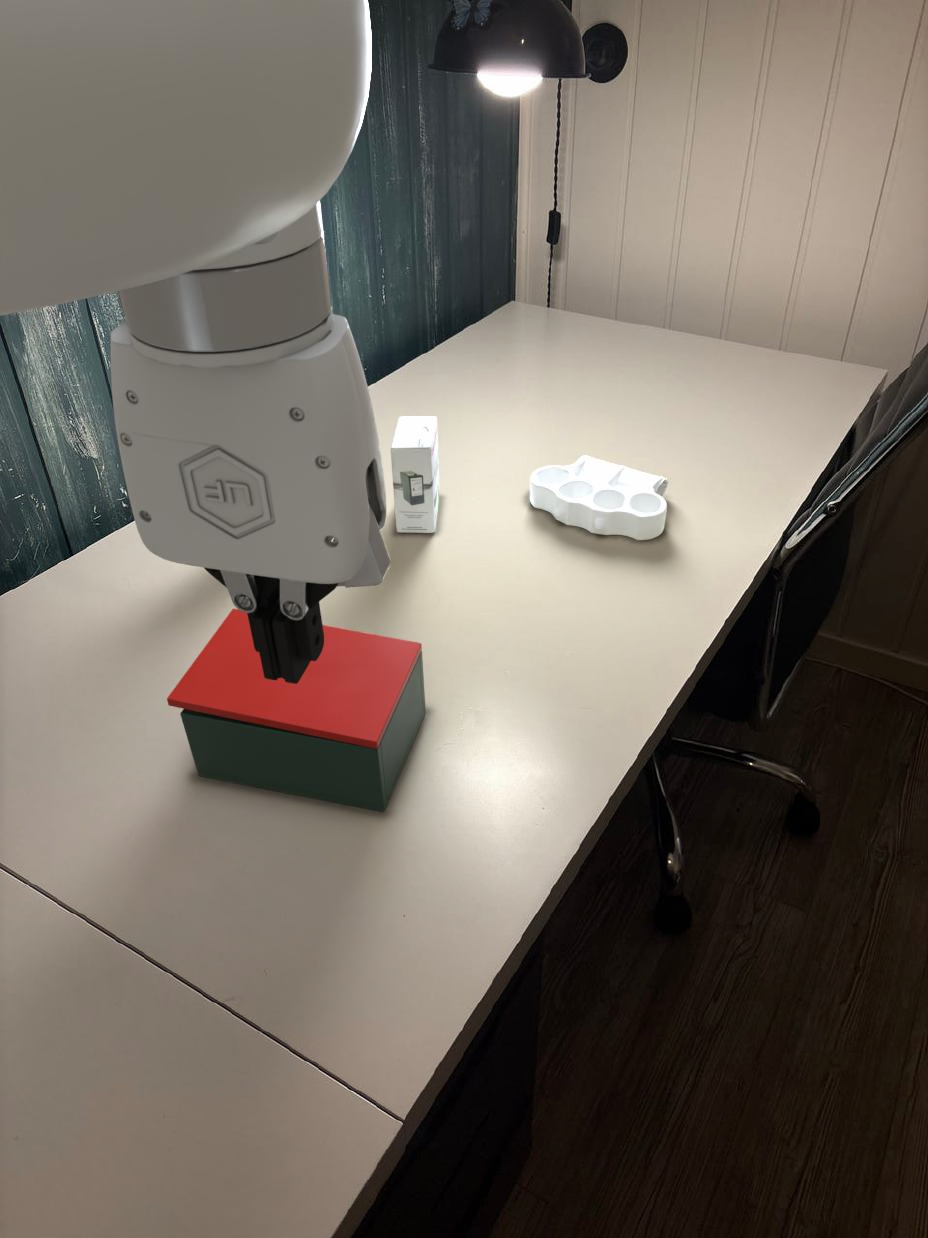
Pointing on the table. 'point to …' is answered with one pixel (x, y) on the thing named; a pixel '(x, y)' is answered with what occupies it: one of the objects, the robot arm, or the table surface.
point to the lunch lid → (302, 683)
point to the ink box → (415, 474)
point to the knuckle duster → (602, 497)
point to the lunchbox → (308, 754)
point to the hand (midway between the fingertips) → (293, 662)
